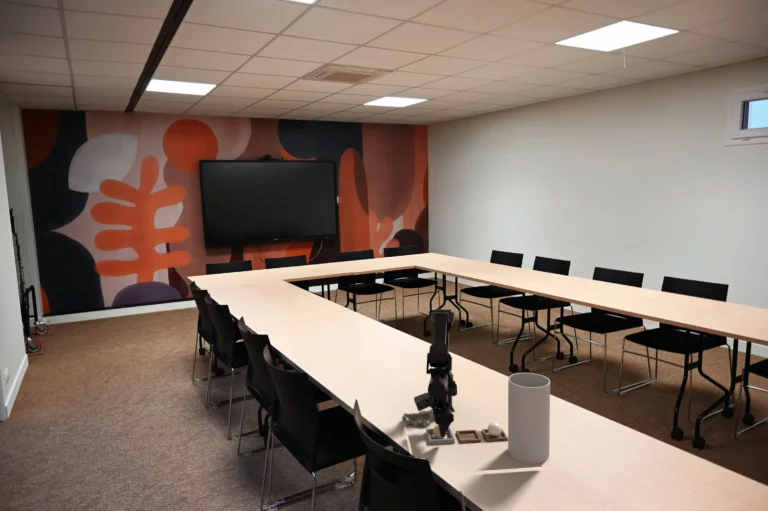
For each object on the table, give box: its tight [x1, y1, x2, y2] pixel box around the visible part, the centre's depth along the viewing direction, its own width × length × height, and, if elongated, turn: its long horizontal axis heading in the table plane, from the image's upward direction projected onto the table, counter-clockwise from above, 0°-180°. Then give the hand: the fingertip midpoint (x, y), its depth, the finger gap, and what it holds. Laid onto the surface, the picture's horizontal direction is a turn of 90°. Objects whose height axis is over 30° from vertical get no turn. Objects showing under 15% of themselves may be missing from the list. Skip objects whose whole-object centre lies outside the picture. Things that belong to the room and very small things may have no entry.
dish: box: [425, 427, 456, 446], centre depth 170 cm, size 8×8×2 cm
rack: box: [455, 427, 508, 445], centre depth 170 cm, size 8×16×2 cm, turn 94°
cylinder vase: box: [507, 372, 551, 464], centre depth 157 cm, size 12×12×25 cm
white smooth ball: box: [487, 421, 503, 437], centre depth 170 cm, size 5×5×5 cm
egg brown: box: [432, 424, 448, 439], centre depth 170 cm, size 5×5×5 cm
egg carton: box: [401, 410, 433, 429], centre depth 182 cm, size 11×8×4 cm
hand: (440, 430), depth 170 cm, fingers open, 9 cm apart
